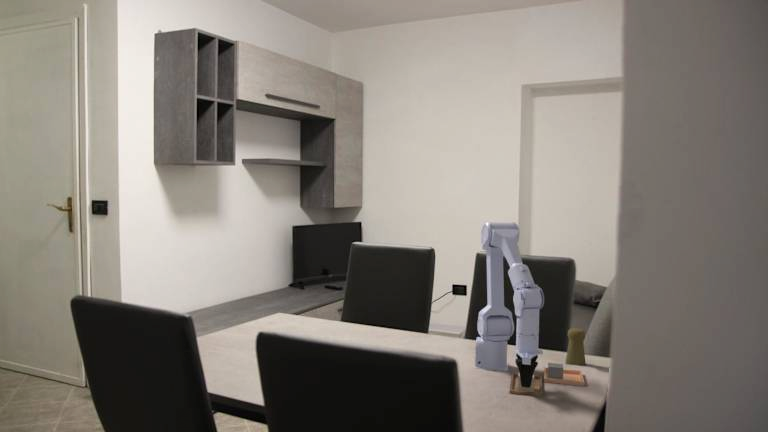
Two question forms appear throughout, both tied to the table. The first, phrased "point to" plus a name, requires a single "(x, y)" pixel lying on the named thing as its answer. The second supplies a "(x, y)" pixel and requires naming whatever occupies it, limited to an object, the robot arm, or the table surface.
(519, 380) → the cream pedestal cube
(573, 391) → the table surface
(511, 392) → the walnut tray
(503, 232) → the robot arm
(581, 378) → the terracotta dish
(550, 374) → the slate gray cube
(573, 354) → the cork
